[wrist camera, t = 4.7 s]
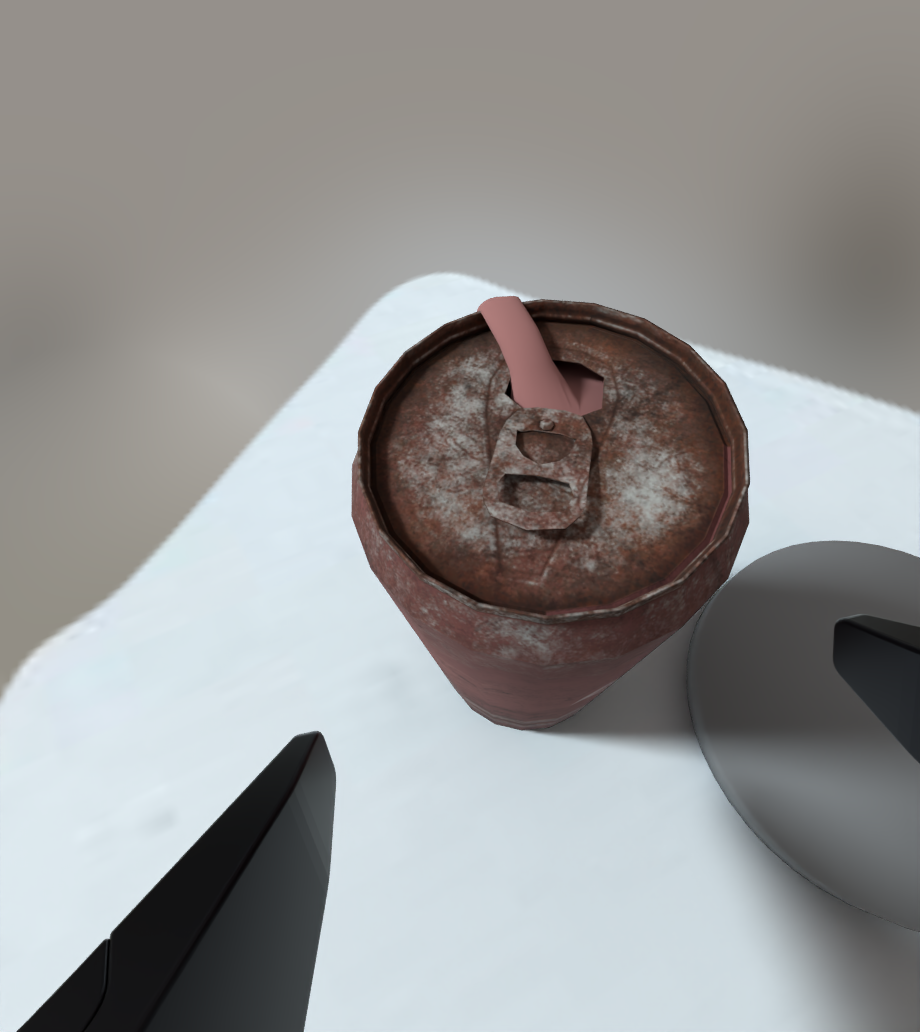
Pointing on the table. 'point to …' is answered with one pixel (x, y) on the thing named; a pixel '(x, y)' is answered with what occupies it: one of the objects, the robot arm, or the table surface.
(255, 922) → the robot arm
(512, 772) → the table surface
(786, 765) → the charcoal mat
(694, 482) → the can
